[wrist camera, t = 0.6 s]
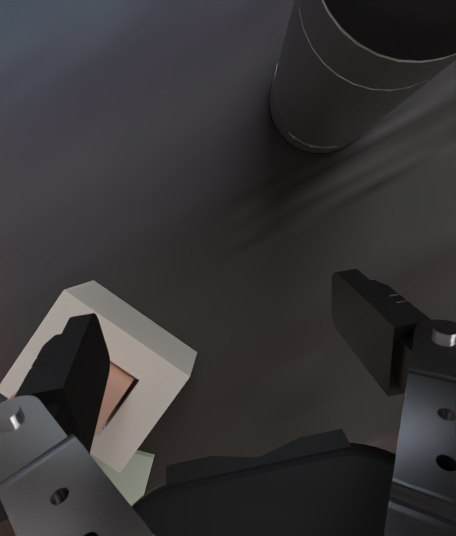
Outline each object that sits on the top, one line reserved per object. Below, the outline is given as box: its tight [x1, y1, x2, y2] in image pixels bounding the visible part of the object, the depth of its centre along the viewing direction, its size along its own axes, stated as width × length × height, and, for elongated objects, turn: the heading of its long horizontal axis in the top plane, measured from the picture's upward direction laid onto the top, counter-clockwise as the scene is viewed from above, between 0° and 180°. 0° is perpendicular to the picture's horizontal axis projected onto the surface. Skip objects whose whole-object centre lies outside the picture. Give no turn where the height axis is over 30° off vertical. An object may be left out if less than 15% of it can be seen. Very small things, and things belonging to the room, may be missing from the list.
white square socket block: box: [0, 280, 197, 473], centre depth 31 cm, size 12×10×6 cm
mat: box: [90, 450, 155, 506], centre depth 35 cm, size 9×12×1 cm
